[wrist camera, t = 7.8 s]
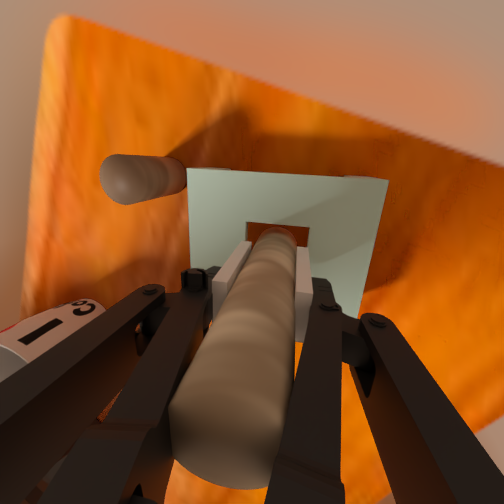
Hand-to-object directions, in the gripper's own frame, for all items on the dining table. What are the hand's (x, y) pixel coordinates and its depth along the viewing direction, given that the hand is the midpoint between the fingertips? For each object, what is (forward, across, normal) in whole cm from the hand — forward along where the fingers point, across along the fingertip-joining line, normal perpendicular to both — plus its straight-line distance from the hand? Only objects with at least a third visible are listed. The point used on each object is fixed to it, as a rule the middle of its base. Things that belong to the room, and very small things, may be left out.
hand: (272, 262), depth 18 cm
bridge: (+7, 0, 0) cm, 7 cm away
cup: (+7, -23, -13) cm, 27 cm away
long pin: (+4, 0, 0) cm, 4 cm away
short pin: (+7, -11, +5) cm, 14 cm away
